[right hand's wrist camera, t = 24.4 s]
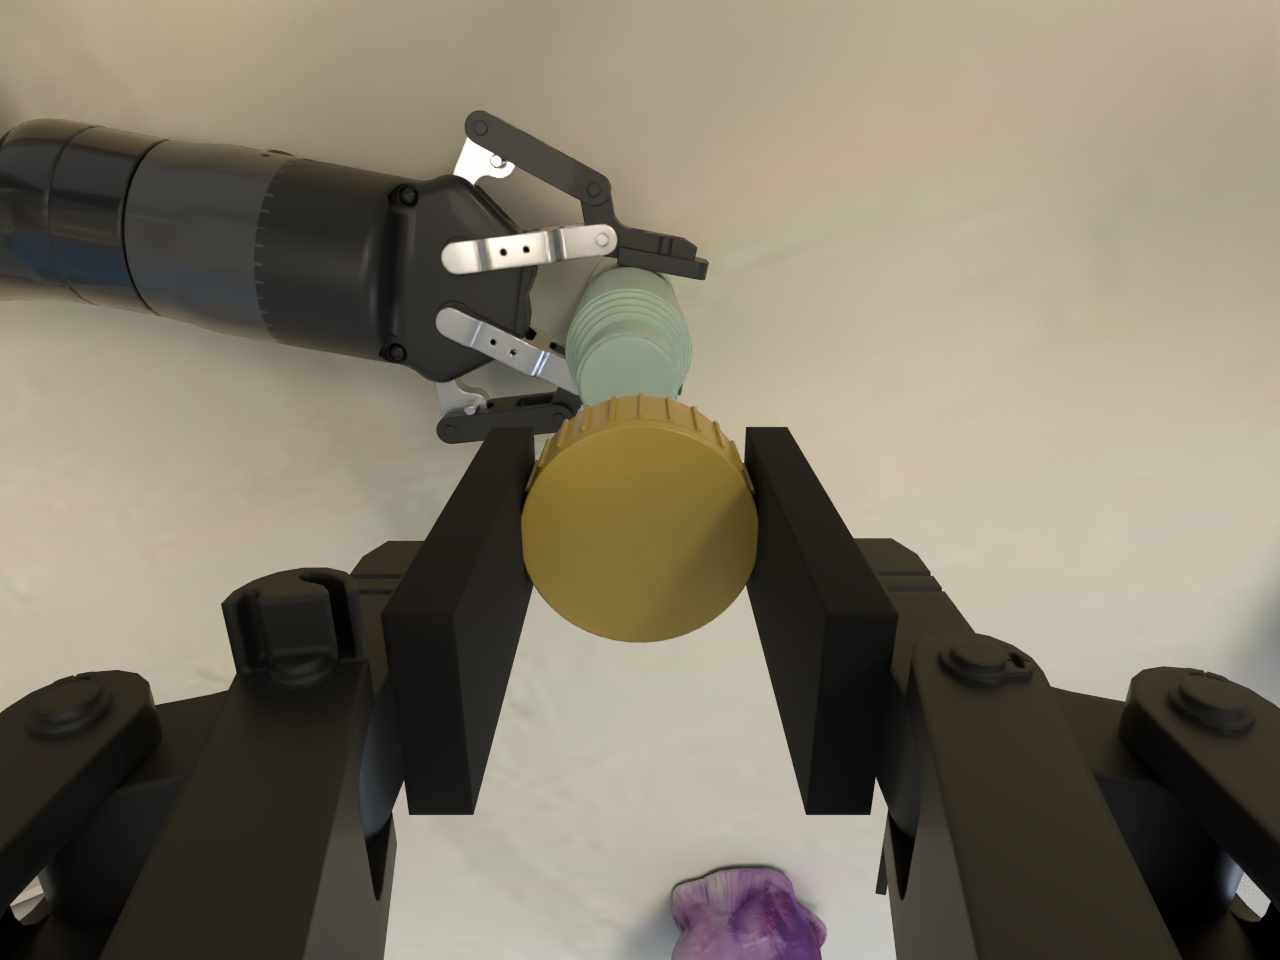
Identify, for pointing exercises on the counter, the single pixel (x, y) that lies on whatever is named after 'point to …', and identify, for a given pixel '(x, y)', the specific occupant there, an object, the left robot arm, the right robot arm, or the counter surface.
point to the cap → (639, 520)
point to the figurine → (744, 918)
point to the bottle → (627, 336)
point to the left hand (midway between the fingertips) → (691, 326)
